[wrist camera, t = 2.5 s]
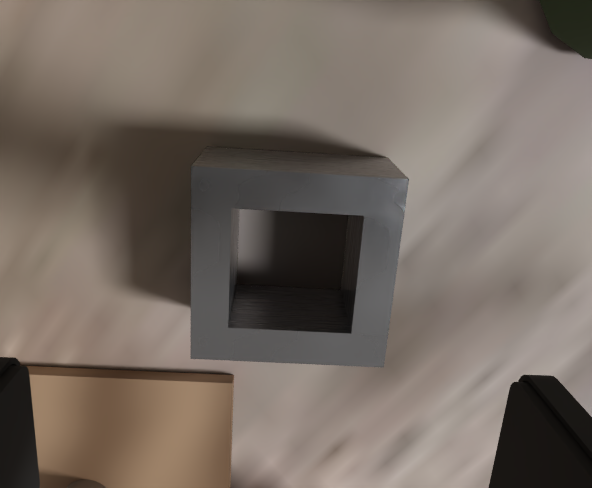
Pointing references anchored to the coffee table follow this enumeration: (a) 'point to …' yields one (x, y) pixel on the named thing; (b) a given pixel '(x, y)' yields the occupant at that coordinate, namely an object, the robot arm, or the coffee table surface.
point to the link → (289, 300)
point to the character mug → (571, 23)
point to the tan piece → (132, 428)
